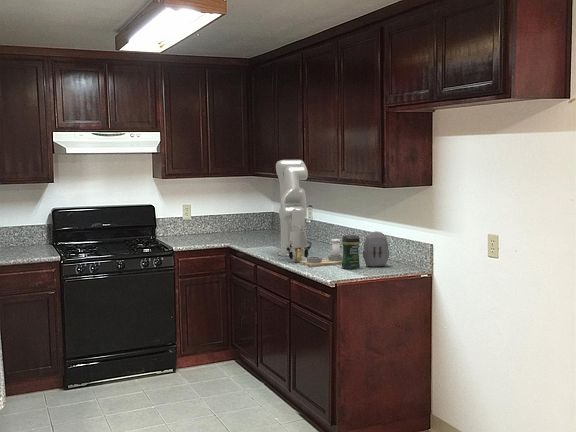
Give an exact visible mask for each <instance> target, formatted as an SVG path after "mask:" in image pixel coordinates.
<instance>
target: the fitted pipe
mask: <svg viewBox="0 0 576 432" xmlns="http://www.w3.org/2000/svg"><path fill="white" fill-rule="evenodd" d="M340 242H341V239H340V238H331V254H330V255H328V258H327V259H329V261H342V259H343V254H341V253H340V249H341V248H340V245H341V244H340Z"/></svg>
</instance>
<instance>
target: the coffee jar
mask: <svg viewBox="0 0 576 432" xmlns="http://www.w3.org/2000/svg"><path fill="white" fill-rule="evenodd" d="M360 242H361V241H360V235H356V234H348V235H343V236H342V240H341V244H342V250H343V252H342V256H343V259H342V265H341V267H342V268H343V269H344V270H354V269H355V270H356V269H360V266H361V265H360V254H359V248H360Z"/></svg>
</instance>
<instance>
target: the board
mask: <svg viewBox="0 0 576 432" xmlns="http://www.w3.org/2000/svg"><path fill="white" fill-rule="evenodd" d="M299 265H303V266H304V267H308V268H317V267H329V266H340V265H341V266H342V261H329V259H328V258H322V262H321V263H308V262H307V259H305V260H302V261H300V263H299Z"/></svg>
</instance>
